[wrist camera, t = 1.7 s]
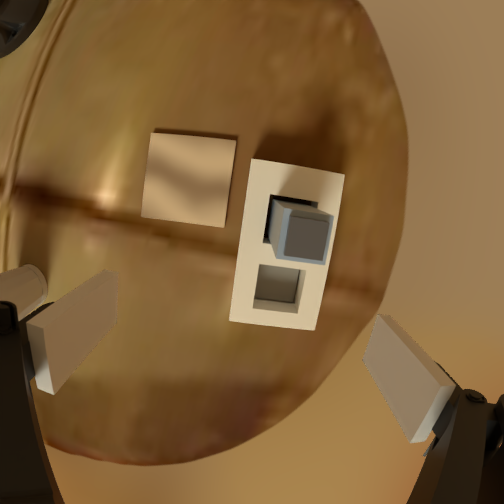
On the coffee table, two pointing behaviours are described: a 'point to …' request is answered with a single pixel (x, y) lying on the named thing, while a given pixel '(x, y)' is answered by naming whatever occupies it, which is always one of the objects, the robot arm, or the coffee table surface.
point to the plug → (299, 232)
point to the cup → (23, 288)
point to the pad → (188, 179)
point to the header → (262, 255)
